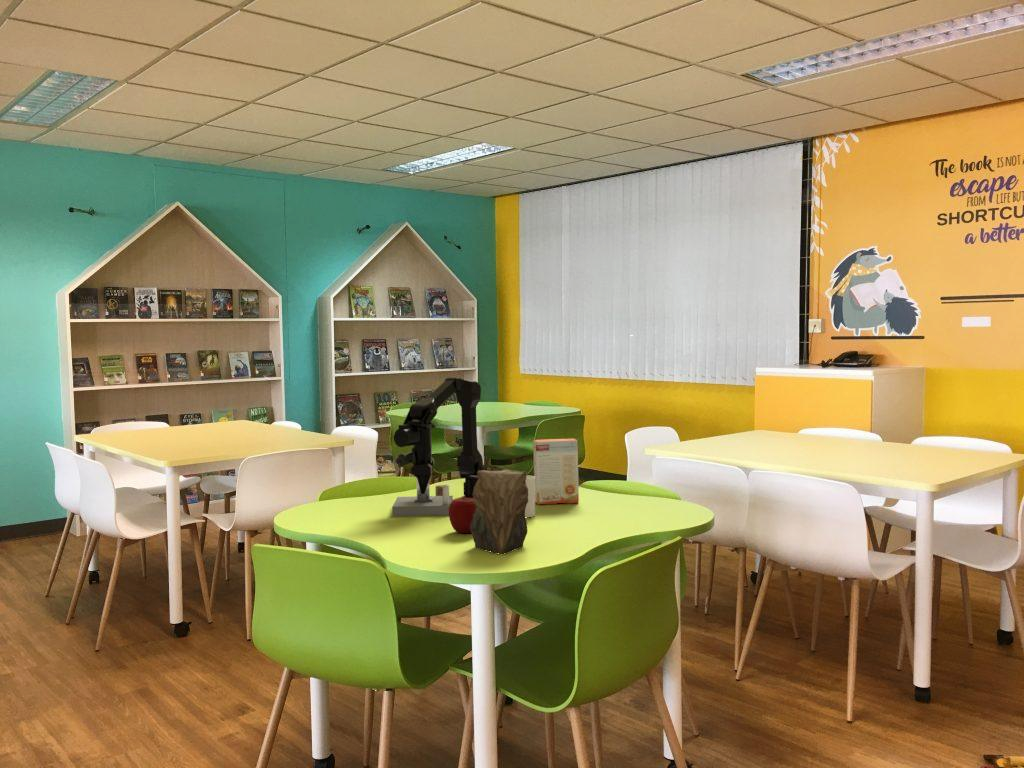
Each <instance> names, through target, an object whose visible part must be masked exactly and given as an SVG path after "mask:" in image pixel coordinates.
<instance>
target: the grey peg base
mask: <svg viewBox="0 0 1024 768" xmlns="http://www.w3.org/2000/svg"><path fill="white" fill-rule="evenodd" d="M442 485H443V496H436V495H430V499H427V500H418V499H417V495H416V496H397V497H396V499H395V501H394V503H393V504H392V509H391V510H392V511H391V512H392V514H391V515H392V517H425V516H424V515H427V516H429V517H431V516H430V515H436V516H449V505H450V503H451V502H452V501H453V500H454V498H453V497H454V495H450V485H449V484H442Z"/></svg>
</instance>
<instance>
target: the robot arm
mask: <svg viewBox="0 0 1024 768" xmlns="http://www.w3.org/2000/svg"><path fill="white" fill-rule="evenodd" d="M481 387H482V386H481V385H480V384H479V383H478V382H477V381H476V380H475V381H473V380H472V381H470V380H465V379H462V378H460V377H455V376H454V377H452V376H451V377H446V378H445V379H444V382H443V383H441V384H440V385H439V386H438V387H437V388H436V389H435V390H434V391H433V392H431V393H430V394H429V395H428V396H427V397H426V398H424V399H421V400H420V399H419V400H418V401H416V402H414V403H412V404H411V405H410V407H409V410H408V412H407V414H406V417H405V418H404V421H403V423H402V424H399V425H398V428H397V430H396V431H395V432H394V435H393V442H394V444H395V445H396V446H397V447H400V448H404V447H409V446H412V447H411V450H410V451H408V452H405V453H404V452H402V453H400V454H398V455H397V456H395V463H396V464H397V467H398V468H399V469H400V468H403V466H405V465H408V464H412V466H411V467H410V475H413V476H414V477H417V479H418V483H419V487H420V491H421V494H424V493H425V491H426V488H427V485H428V482H429V483H430V479H431V476H432V474H433V471H434V466H435V458H433V457H432V454H433V453H432V449H433V445H432V429H435V428H436V425H435V424H434V423H433V422H432V421H433V419H435V417H436V416H437V414H438V410H439V408H440V407H441V406H442V405H443V404H444V403H445V402H447V400H448V399H449V398H450V397H451V396H452V395H453V394H455V397H456V398H455V399H456V401H457V403H458V405H459V406H460V408H461V410H460V411H461V432H462V433H461V435H462V438H461V439H462V450H461V451H460V454H458V455H456V461H457V463H456V464H457V465H456V467H457V469H458V473H459V477H460V479H464V482H463V496H464V498H473V491H474V487H475V485H476V483H477V481H478V475H477V471H479V470H480V471H481V470H486V471H489V470H488V469H487V467H486V466H485V465H484V462H483V461H484V460H483V456H482V454H481V453H480V451H479V449H478V430H477V428H478V427H477V426H478V425H477V406H478V405H479V402H480V401H481V393H482V388H481ZM417 479H416V480H417Z"/></svg>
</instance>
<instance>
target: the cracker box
mask: <svg viewBox="0 0 1024 768" xmlns="http://www.w3.org/2000/svg"><path fill="white" fill-rule="evenodd" d="M578 450H579V449H578V440H577V439H576V438H574V437H573V438H553V439H552V438H547V439H545V438H544V439H534V440H533V476H535V504H536V503H537V504H536V505H539V504H545V505H558V504H557V503H567V504H578V503H577V502H580V501H579V500H580V496H579V495H580V494H579V487H580V486H579V452H578ZM539 506H540V505H539Z"/></svg>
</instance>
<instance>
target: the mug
mask: <svg viewBox="0 0 1024 768" xmlns="http://www.w3.org/2000/svg"><path fill="white" fill-rule="evenodd" d="M525 482H526V486H527V488H528V503H527V505H526V509H525V517H531V518H534V517H535V515H536V513H535V512H536V502H535V476H534V475H527V474H526V481H525ZM533 516H534V517H533Z"/></svg>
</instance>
